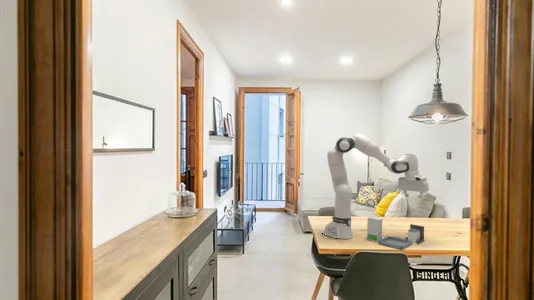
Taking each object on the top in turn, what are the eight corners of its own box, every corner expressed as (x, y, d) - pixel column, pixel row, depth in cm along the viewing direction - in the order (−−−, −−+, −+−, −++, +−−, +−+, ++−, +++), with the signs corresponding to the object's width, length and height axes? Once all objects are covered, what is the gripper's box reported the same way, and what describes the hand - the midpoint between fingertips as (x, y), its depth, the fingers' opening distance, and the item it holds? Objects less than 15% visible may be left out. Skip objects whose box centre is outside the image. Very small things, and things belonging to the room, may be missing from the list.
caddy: (407, 241, 206) (407, 230, 206) (412, 239, 212) (412, 228, 212) (415, 243, 202) (415, 231, 202) (420, 241, 208) (420, 229, 208)
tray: (378, 244, 201) (378, 240, 201) (388, 239, 211) (388, 235, 211) (402, 250, 189) (402, 246, 189) (412, 244, 200) (412, 240, 200)
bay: (404, 241, 207) (404, 226, 207) (410, 238, 214) (410, 224, 214) (418, 244, 201) (418, 229, 200) (424, 241, 208) (424, 226, 208)
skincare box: (366, 239, 210) (366, 217, 210) (371, 237, 215) (371, 215, 215) (378, 242, 205) (378, 219, 204) (382, 240, 209) (382, 217, 209)
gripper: (395, 177, 214) (397, 196, 215) (424, 178, 198) (425, 199, 198) (400, 176, 218) (401, 195, 218) (429, 177, 201) (430, 197, 201)
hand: (413, 197), depth 208 cm, fingers open, 8 cm apart
